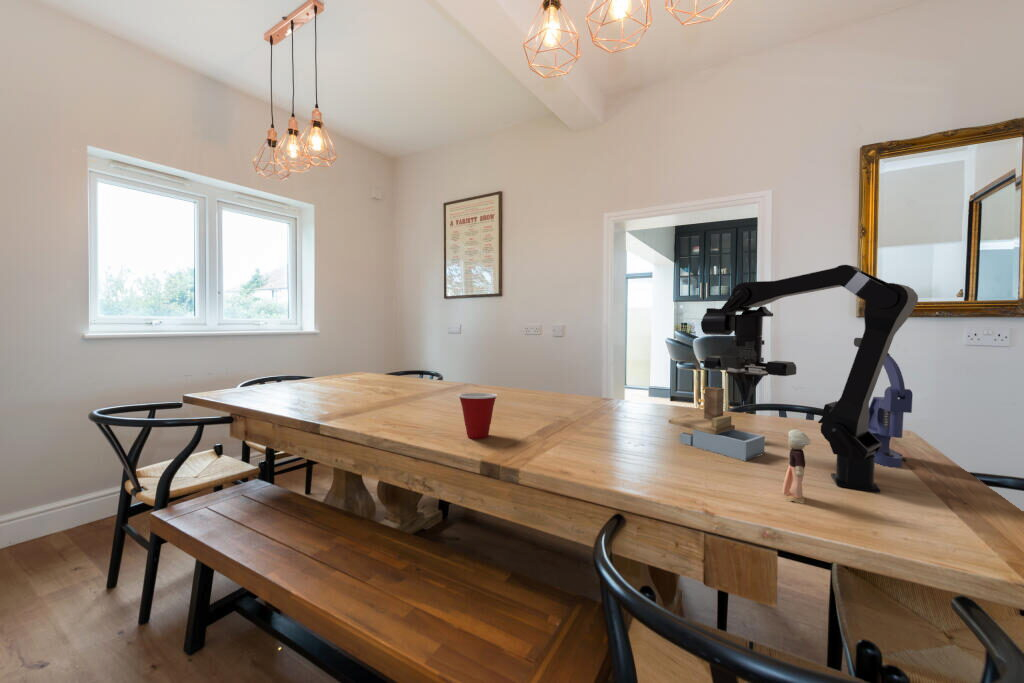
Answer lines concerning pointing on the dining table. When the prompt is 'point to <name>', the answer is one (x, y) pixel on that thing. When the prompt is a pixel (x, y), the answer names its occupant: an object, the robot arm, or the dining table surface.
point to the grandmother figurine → (795, 466)
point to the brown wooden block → (713, 402)
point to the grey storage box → (727, 443)
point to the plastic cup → (477, 413)
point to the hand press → (889, 413)
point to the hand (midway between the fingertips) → (745, 401)
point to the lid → (705, 423)
